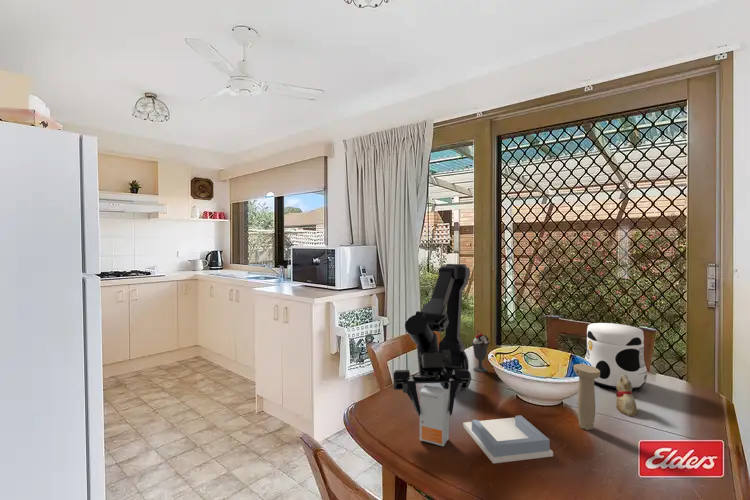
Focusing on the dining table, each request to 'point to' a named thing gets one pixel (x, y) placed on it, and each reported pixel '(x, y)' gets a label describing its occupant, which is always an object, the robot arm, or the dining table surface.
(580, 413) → the handle
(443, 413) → the skincare box
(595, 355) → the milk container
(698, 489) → the dining table surface
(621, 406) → the chocolate bunny
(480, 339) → the sundae
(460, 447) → the dining table surface
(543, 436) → the stop cradle
